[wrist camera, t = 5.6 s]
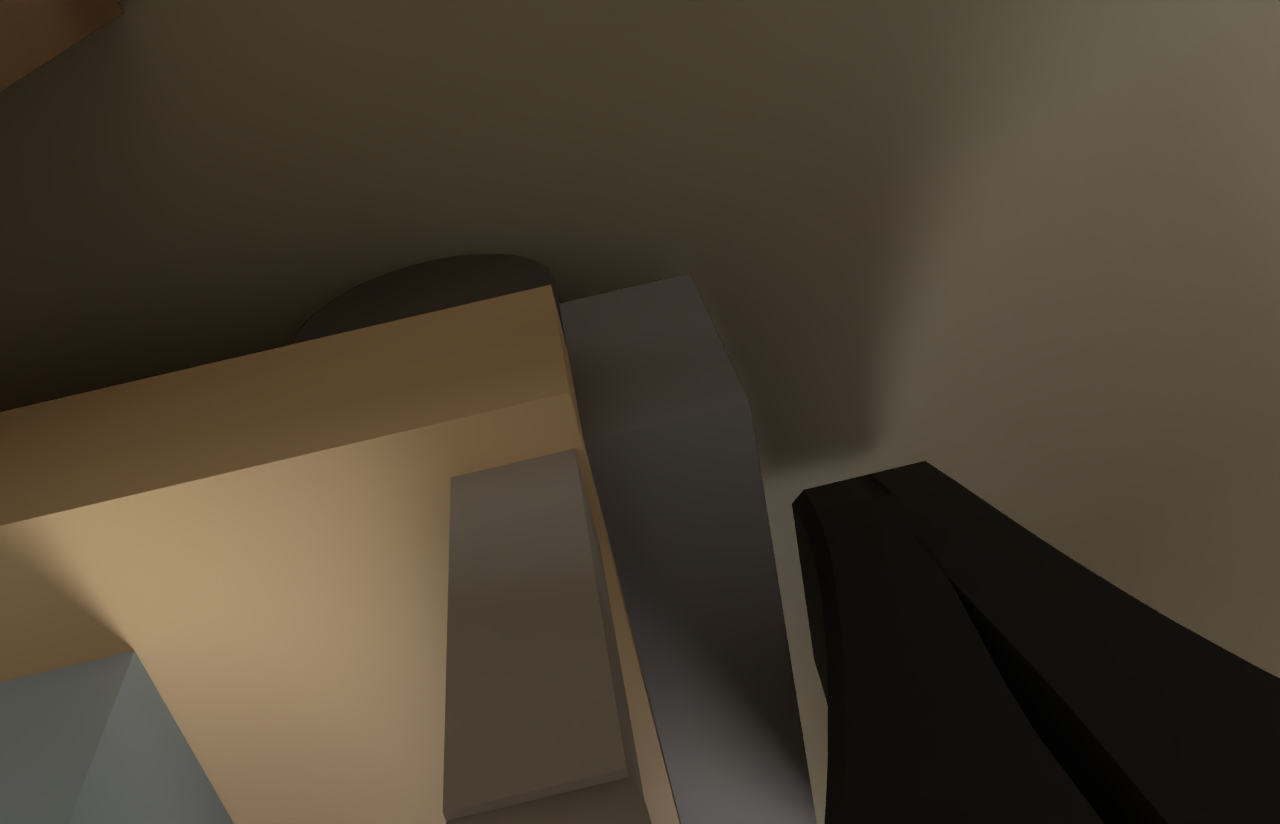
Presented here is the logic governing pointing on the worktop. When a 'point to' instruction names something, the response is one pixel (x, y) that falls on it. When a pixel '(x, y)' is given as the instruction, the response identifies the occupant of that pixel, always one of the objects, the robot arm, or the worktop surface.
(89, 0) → the bay
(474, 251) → the worktop surface
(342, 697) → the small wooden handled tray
